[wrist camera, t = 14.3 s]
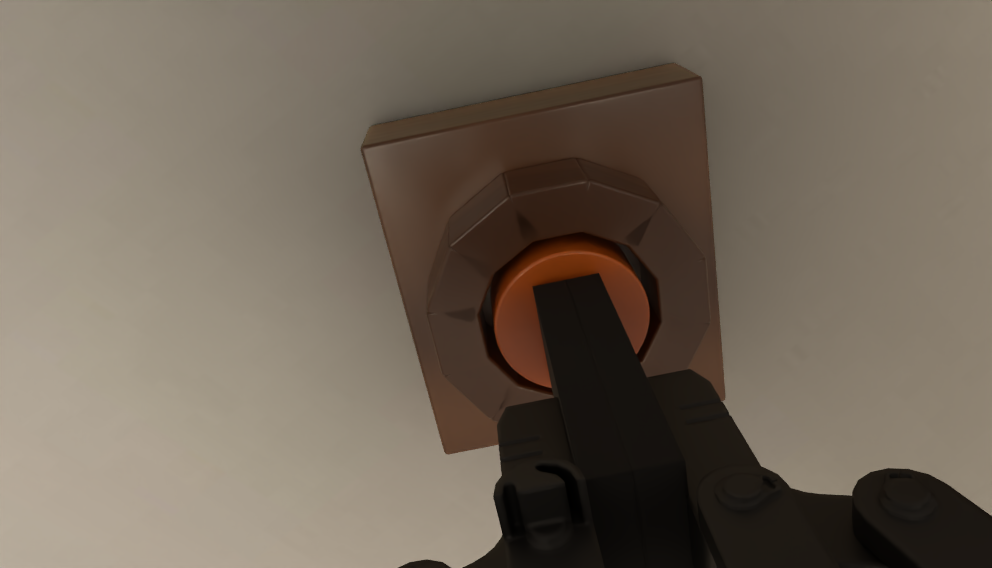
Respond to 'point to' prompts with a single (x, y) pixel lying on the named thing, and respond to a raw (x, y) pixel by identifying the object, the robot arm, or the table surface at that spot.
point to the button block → (547, 225)
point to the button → (553, 264)
